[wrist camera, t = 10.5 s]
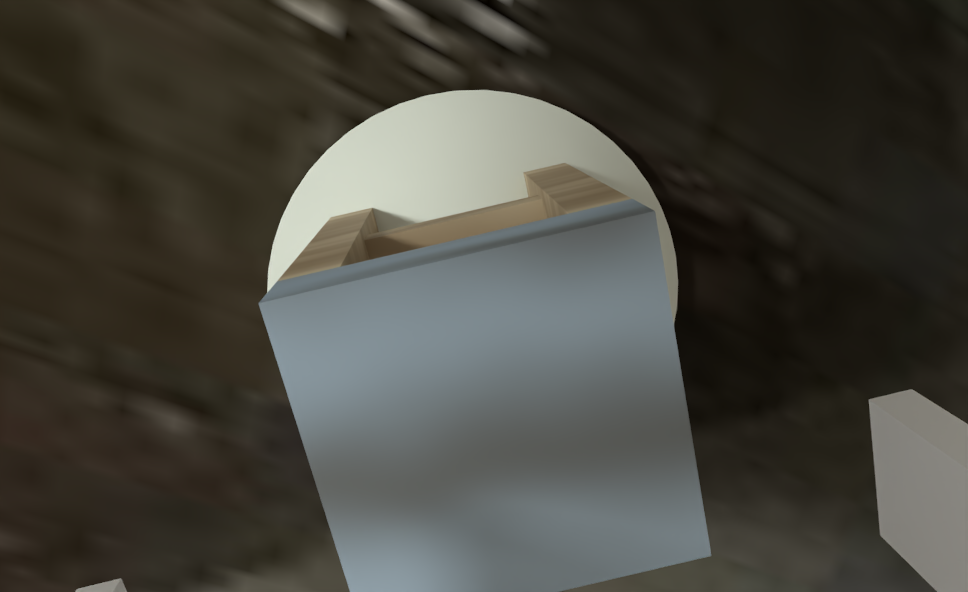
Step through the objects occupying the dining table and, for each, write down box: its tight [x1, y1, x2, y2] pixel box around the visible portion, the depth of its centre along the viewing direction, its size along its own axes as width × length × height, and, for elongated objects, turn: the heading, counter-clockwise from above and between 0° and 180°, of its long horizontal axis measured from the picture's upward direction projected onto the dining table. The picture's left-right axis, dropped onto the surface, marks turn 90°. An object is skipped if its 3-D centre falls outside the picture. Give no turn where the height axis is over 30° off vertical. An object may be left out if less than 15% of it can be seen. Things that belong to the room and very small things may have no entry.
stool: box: [259, 163, 711, 592], centre depth 24 cm, size 9×9×12 cm
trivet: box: [267, 90, 678, 324], centre depth 30 cm, size 16×16×1 cm
